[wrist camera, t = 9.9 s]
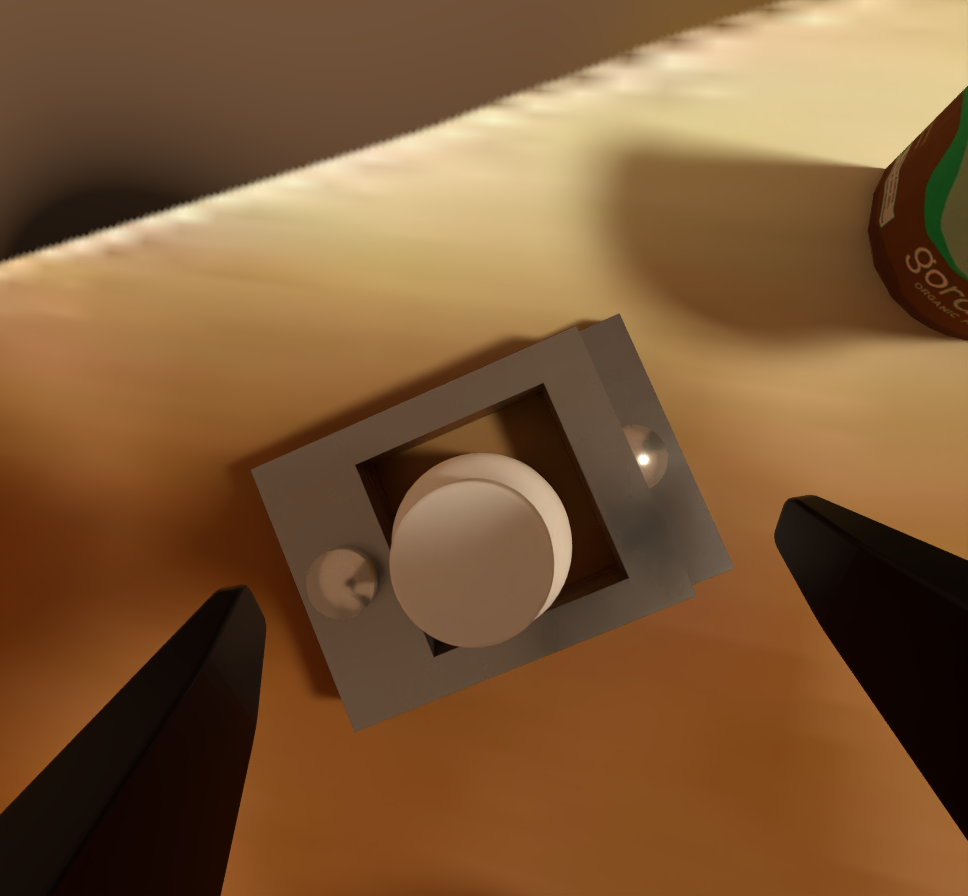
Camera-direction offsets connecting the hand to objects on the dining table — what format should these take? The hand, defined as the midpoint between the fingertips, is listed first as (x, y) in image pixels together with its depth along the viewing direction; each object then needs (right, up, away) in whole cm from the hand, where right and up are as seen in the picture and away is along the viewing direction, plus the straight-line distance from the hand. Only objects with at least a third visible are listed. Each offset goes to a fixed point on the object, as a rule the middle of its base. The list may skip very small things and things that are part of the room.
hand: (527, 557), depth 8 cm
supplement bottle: (0, -1, +13) cm, 13 cm away
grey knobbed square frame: (0, -1, +13) cm, 13 cm away
